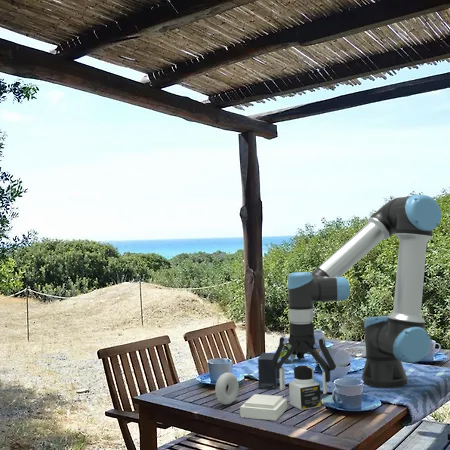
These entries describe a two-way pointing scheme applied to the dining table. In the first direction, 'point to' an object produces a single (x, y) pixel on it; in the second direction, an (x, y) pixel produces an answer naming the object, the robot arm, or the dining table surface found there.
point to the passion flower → (299, 355)
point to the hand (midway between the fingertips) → (303, 390)
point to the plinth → (264, 407)
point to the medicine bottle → (304, 389)
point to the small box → (267, 372)
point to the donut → (232, 390)
